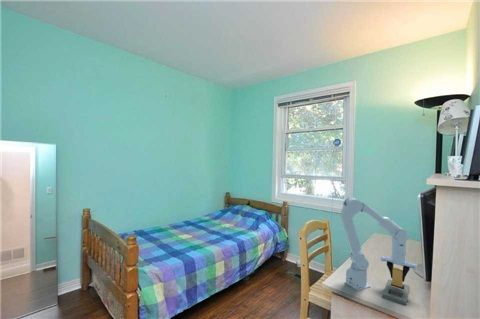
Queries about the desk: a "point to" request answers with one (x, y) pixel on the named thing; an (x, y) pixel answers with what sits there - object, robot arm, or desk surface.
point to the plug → (397, 276)
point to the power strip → (396, 292)
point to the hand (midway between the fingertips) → (397, 279)
